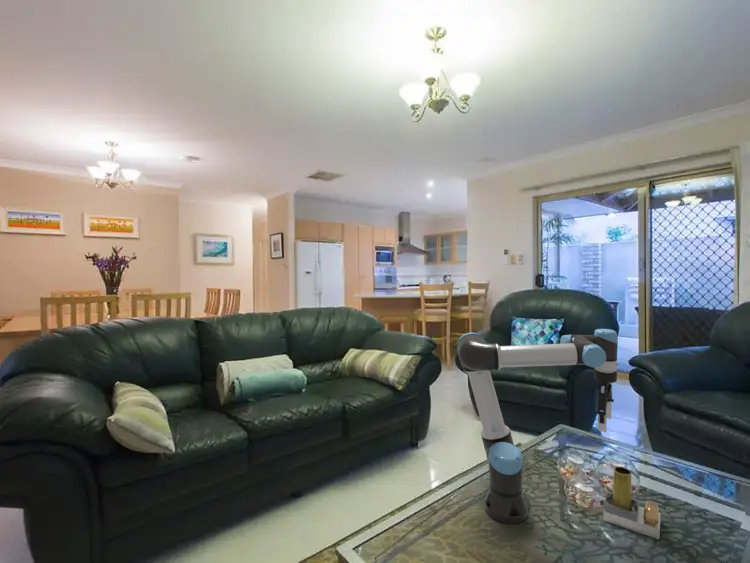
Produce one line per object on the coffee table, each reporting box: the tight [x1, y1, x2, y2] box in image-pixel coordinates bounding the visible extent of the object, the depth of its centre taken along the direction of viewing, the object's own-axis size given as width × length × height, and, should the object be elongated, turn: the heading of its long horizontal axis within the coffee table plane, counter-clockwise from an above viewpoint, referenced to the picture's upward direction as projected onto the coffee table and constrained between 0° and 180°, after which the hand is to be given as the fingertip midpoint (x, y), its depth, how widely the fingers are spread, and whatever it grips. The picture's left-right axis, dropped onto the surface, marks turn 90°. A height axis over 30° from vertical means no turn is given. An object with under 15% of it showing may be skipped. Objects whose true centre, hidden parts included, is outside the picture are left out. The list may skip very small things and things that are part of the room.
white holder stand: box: [603, 490, 662, 540], centre depth 138 cm, size 16×10×8 cm, turn 52°
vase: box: [612, 466, 632, 511], centre depth 139 cm, size 6×6×14 cm
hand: (604, 424), depth 151 cm, fingers open, 13 cm apart
